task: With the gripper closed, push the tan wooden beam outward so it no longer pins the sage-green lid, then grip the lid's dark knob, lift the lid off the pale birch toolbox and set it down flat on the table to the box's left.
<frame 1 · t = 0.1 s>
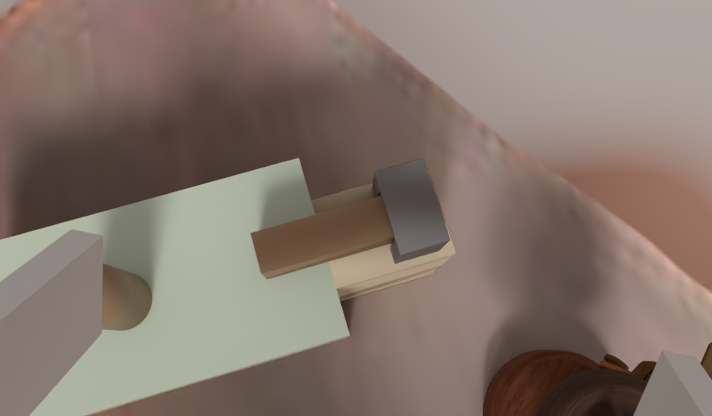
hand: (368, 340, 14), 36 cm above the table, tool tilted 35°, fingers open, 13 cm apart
toolbox: (175, 311, 49), on the table
tan wooden beam: (338, 234, 37), point 14 cm above the table, slide at 0.0 cm
lid: (133, 303, 40), point 10 cm above the table, touching toolbox
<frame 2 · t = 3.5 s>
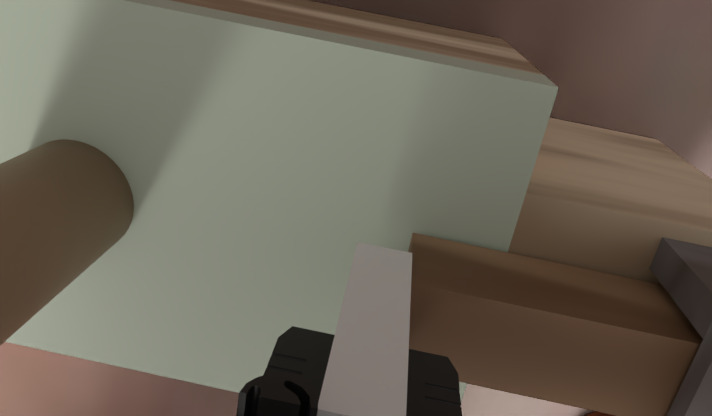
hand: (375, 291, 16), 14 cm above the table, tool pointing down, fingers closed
toolbox: (207, 111, 29), on the table
tan wooden beam: (583, 334, 16), point 14 cm above the table, slide at 1.2 cm, touching gripper
lid: (108, 176, 20), point 10 cm above the table, touching toolbox
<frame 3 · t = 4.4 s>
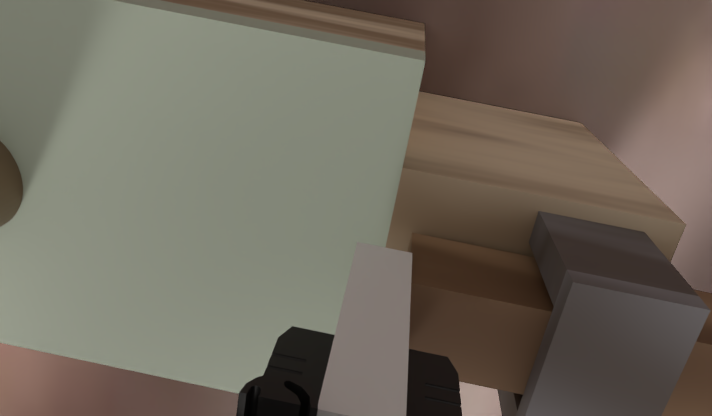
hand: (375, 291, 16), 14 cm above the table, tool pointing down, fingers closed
toolbox: (138, 98, 30), on the table
tan wooden beam: (583, 333, 16), point 14 cm above the table, slide at 4.7 cm, touching gripper
lid: (8, 157, 20), point 10 cm above the table, touching toolbox
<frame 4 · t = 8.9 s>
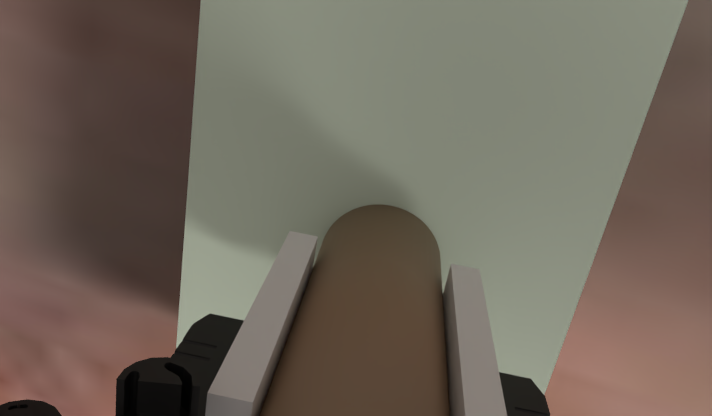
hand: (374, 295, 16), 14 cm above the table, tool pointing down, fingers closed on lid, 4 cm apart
lid: (383, 233, 20), point 10 cm above the table, touching gripper, toolbox
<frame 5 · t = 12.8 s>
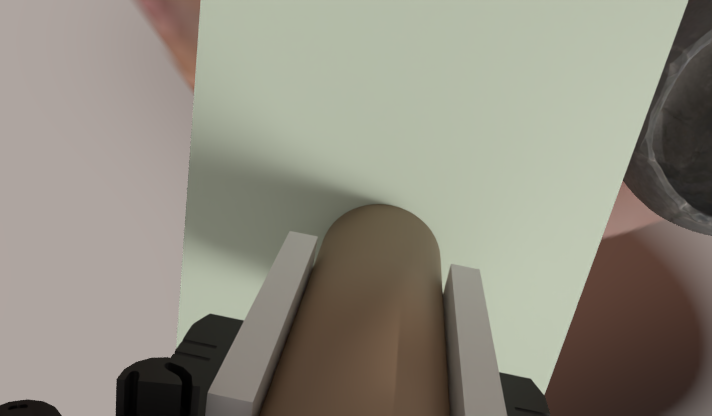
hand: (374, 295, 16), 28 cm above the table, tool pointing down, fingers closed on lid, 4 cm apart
bowl: (699, 90, 40), on the table
lid: (383, 233, 20), point 24 cm above the table, touching gripper
when the fingers open (6 cm above the table, at t = 16.9 s): lid drops 3 cm, on the table.
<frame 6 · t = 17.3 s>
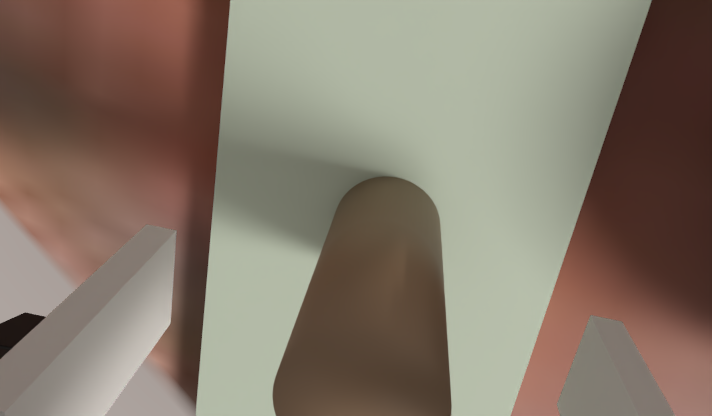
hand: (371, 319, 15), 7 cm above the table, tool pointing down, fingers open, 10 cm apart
lid: (389, 205, 22), on the table
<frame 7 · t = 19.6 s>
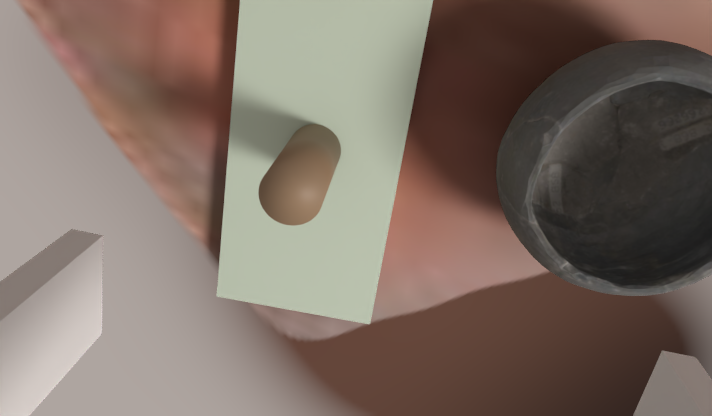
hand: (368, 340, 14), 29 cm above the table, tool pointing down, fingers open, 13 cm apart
bowl: (597, 143, 41), on the table
lid: (319, 142, 43), on the table
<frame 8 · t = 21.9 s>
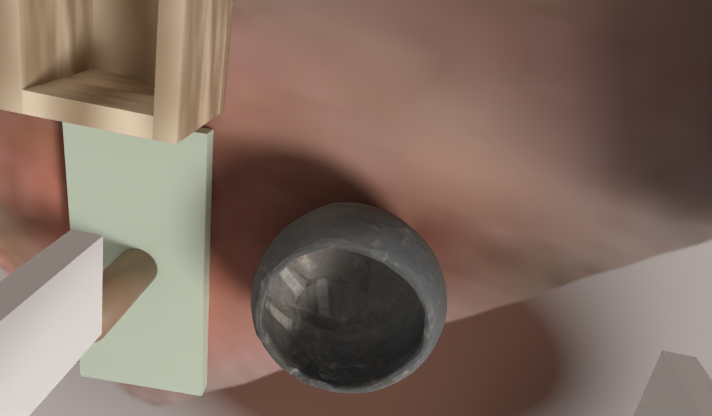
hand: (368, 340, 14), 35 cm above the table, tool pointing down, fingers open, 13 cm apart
bowl: (357, 261, 53), on the table
lid: (147, 256, 55), on the table
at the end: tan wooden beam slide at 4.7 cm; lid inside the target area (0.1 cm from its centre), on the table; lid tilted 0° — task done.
